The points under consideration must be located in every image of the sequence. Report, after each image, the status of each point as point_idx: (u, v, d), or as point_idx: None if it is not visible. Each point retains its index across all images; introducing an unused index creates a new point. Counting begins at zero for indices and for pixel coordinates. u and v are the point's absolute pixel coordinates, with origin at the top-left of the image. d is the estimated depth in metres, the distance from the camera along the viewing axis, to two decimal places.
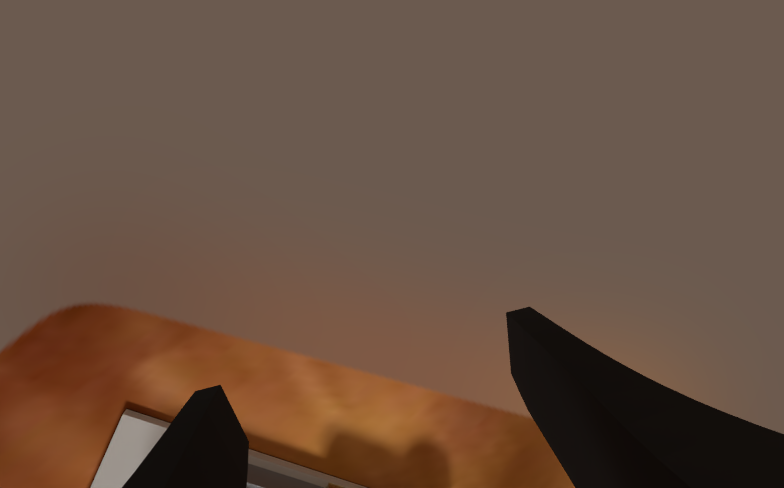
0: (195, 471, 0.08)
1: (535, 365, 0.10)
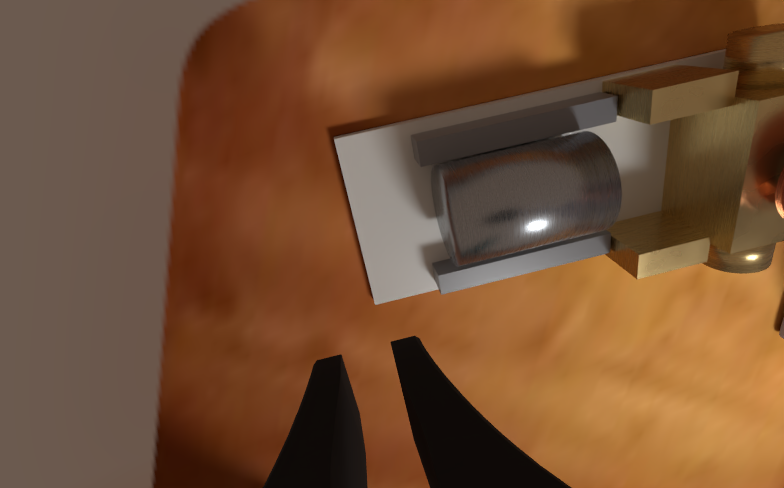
0: (343, 432, 0.09)
1: (406, 399, 0.09)
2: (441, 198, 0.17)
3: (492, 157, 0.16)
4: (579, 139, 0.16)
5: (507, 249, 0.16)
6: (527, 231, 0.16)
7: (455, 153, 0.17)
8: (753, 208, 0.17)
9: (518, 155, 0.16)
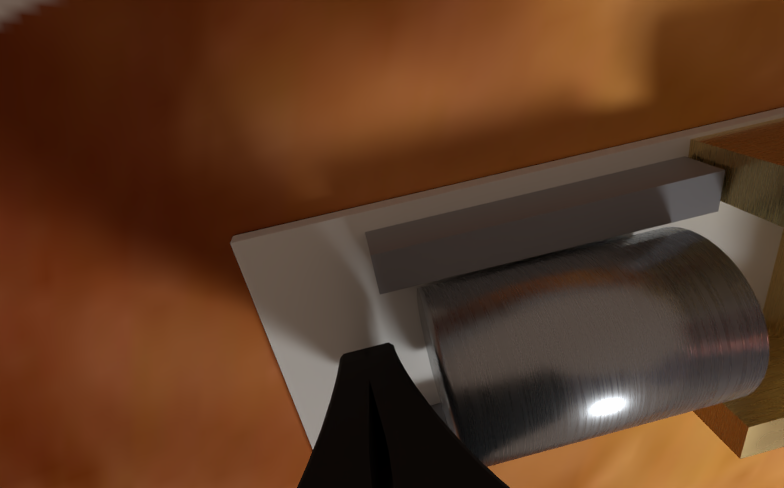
0: (374, 424, 0.09)
1: (376, 406, 0.09)
2: (433, 345, 0.10)
3: (525, 285, 0.09)
4: (683, 253, 0.09)
5: None
6: (591, 429, 0.09)
7: (440, 271, 0.10)
8: None
9: (575, 285, 0.09)
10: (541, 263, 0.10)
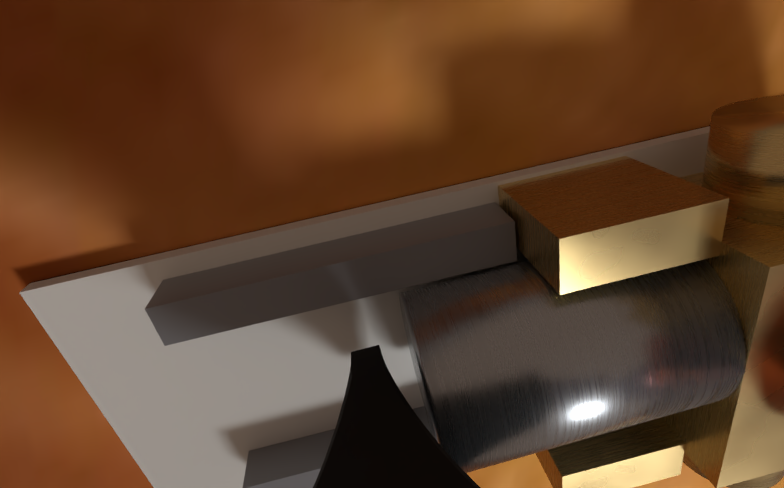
0: None
1: None
2: (414, 350, 0.10)
3: (505, 290, 0.09)
4: None
5: (532, 453, 0.09)
6: (571, 434, 0.08)
7: (225, 322, 0.10)
8: (756, 426, 0.09)
9: (555, 290, 0.09)
10: (522, 267, 0.10)
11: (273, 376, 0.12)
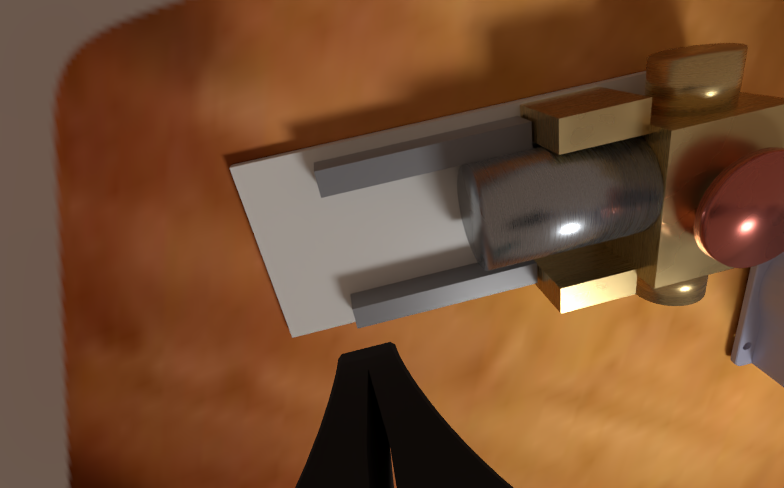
0: (373, 424, 0.09)
1: None
2: (470, 199, 0.16)
3: (525, 155, 0.15)
4: None
5: (541, 252, 0.15)
6: (564, 233, 0.15)
7: (358, 183, 0.16)
8: (675, 241, 0.16)
9: (554, 153, 0.15)
10: (535, 148, 0.16)
11: (371, 236, 0.18)
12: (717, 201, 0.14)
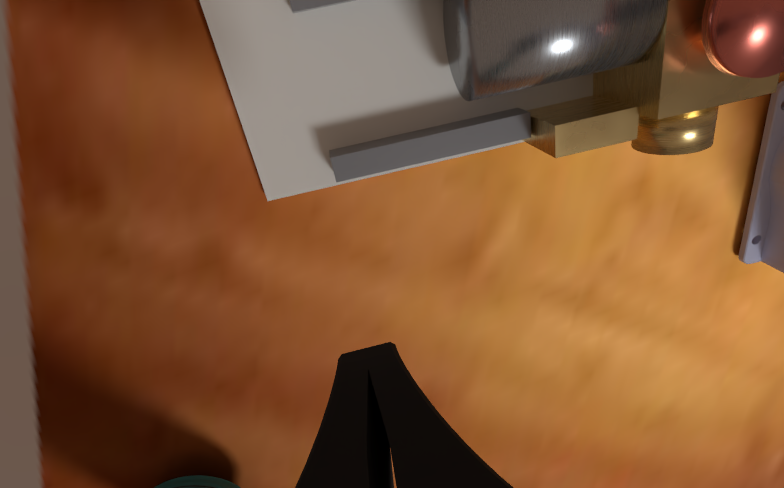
0: (373, 424, 0.09)
1: None
2: (456, 17, 0.15)
3: None
4: None
5: (533, 67, 0.14)
6: (557, 40, 0.14)
7: None
8: (680, 58, 0.14)
9: None
10: None
11: (351, 79, 0.17)
12: None
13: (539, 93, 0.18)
